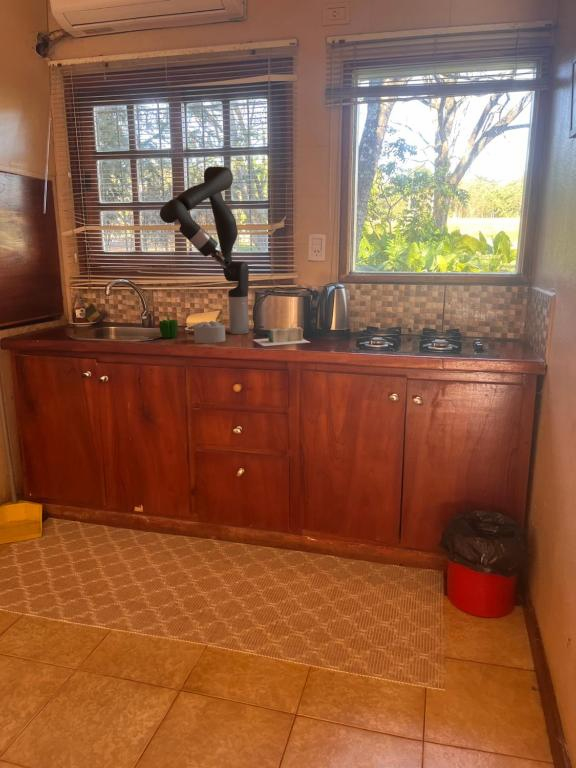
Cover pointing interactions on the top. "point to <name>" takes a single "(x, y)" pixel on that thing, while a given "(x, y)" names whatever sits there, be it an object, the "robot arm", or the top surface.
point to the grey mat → (268, 343)
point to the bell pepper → (168, 328)
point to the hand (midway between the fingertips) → (233, 272)
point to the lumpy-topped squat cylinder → (209, 332)
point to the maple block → (285, 334)
